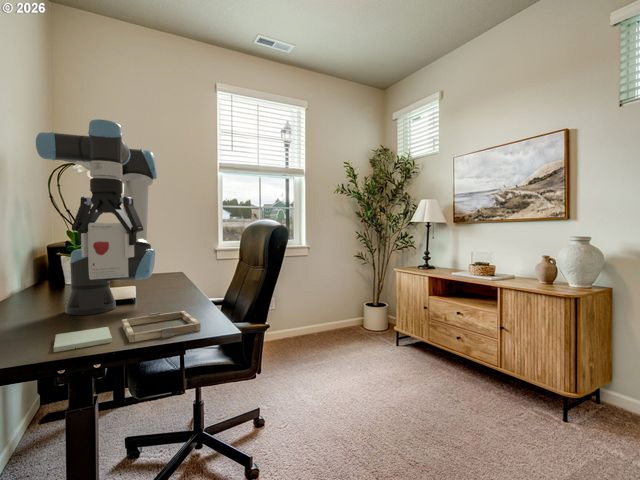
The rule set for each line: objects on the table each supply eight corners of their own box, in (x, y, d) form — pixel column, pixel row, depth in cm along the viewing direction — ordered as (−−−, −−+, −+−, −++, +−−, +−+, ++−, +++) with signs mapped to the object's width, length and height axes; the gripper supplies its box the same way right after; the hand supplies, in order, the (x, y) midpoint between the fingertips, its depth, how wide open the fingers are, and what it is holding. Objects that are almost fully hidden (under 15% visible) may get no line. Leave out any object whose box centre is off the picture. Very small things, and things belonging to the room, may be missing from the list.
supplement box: (89, 280, 85) (87, 222, 85) (88, 275, 93) (87, 222, 92) (129, 277, 91) (128, 222, 90) (125, 273, 98) (124, 223, 97)
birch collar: (121, 325, 103) (121, 317, 102) (183, 315, 113) (183, 309, 113) (130, 343, 86) (130, 334, 86) (201, 330, 97) (201, 322, 97)
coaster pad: (56, 338, 90) (55, 334, 90) (108, 330, 97) (108, 326, 97) (53, 352, 80) (53, 347, 80) (111, 342, 87) (111, 337, 87)
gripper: (53, 177, 88) (56, 257, 89) (139, 176, 85) (140, 258, 86) (77, 181, 95) (79, 255, 96) (156, 180, 93) (157, 256, 94)
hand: (108, 257), depth 91 cm, fingers closed on supplement box, 12 cm apart
